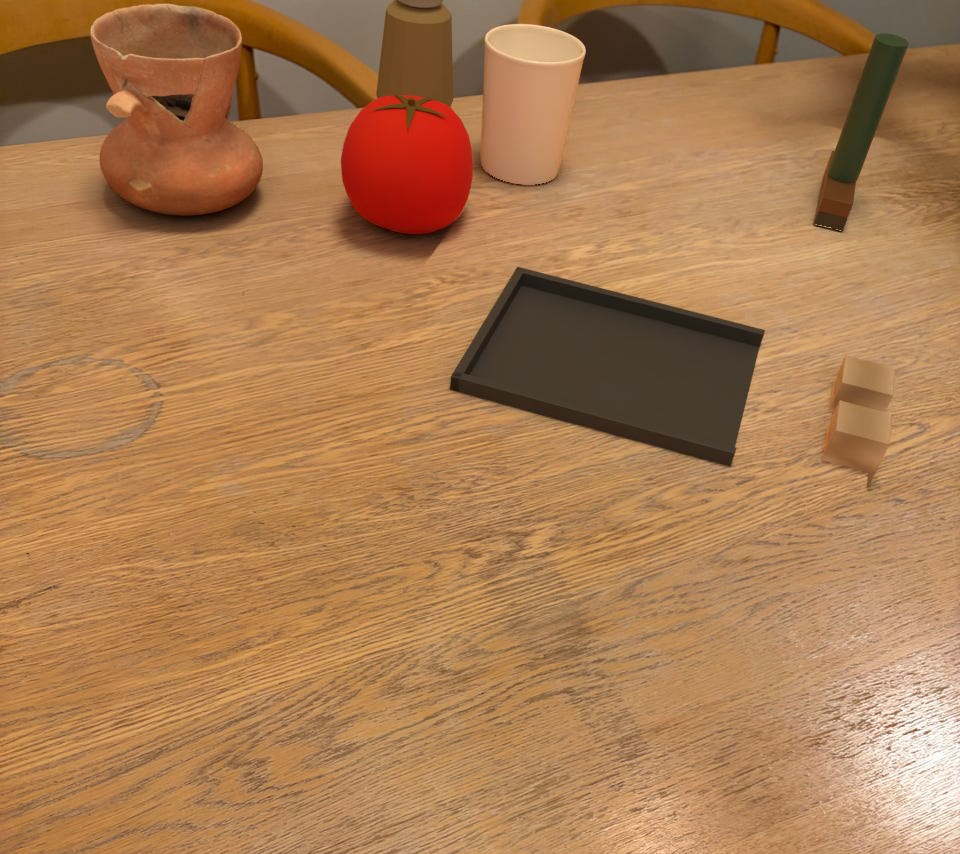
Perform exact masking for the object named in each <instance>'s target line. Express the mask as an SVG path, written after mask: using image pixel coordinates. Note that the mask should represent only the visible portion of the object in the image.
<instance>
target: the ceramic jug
mask: <svg viewBox="0 0 960 854" xmlns="http://www.w3.org/2000/svg"><path fill="white" fill-rule="evenodd" d="M89 33H90V40H91V44H92V48H93V51H94V54H95V56H96V59H97V62H98V65H99V66H100V69H101V71H102V73H103V75H104V77H105V80H106V81H107V84H108V86H109V88H110V90H111V92H112V93H113V95H111V96H110V98H109V99H108V100H107V101H106V105H105V108H106V110H107V111H108V112H109V113H110V114H111V115H113V116H114V117H115V118H125V119H124V120H123V121H122V122H120V123H119V124H117V125H116V126H115V127H114V128H113V129H112V130H110V131H109V133H108V134H107V135H106V137H105V138H104V140H103V142H102V144H101V146H100V147H101V148H100V151H99V166H100V170H101V174H102V175H103V177H104V179H105V181H106V183H107V184H108V186H109V187H110V188H111V189H112V190H113V191H114V193H116V194H117V195H118V196H119V197H120V198H121V199H123V200H124V201H127V202H128V203H130V204H131V205H134V206H136V207H137V208H141V209H143V210H146V211H150V212H153V213H157V214H161V215H169V216H183V217H184V216H186V217H187V216H200V215H201V216H202V215H208V214H213V213H217V212H221V211H224V210H227V209H228V208H231V207H234V206H235V205H237V204H239V203H241V202H242V201H244V200H245V199H246V198H248V197H249V196H250V195H251V194H252V193H253V192H254V191H255V190H256V188H257V187H258V185H259V183H260V182H261V179H262V175H263V169H264V160H263V157H262V153H261V150H260V148H259V147H258V145H257V143H256V142H255V140H254V139H253V138H252V137H251V136H250V135H249V134H248V133H247V132H246V131H244V130H243V129H242V128H240V127H239V126H237V125H236V124H235V123H233V122H231V121H230V120H229V117H230V114H231V113H230V112H231V109H232V99H233V93H234V89H235V85H236V82H237V79H238V78H237V77H238V75H239V71H240V64H241V57H242V50H243V48H242V47H243V37H242V32H241V29H240V28H239V26H237V25H236V24H235V22H233V20H231V19H229V18H228V17H226V16H224V15H222V14H217V13H216V12H214V11H212V10H209V9H207V8H204V7H199V6H194V5H189V6H188V5H187V6H186V5H177V4H173V3H155V4H150V3H146V4H139V5H132V6H129V7H120V8H116V9H115V10H112V11H108V12H106V13H104V14H102V15H101V16H100V17H97V18H96V19H95V20H94V21H93V23H92V25H91V26H90V29H89Z"/></svg>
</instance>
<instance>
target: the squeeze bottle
mask: <svg viewBox="0 0 960 854" xmlns="http://www.w3.org/2000/svg"><path fill="white" fill-rule="evenodd" d="M443 1H444V0H392V1H391V2H390V3H389V4H387V7H386V8H385V16H384V23H383V24H384V25H383V33H382V42H381V48H380V49H381V51H380V59H379V67H378V75H377V76H378V77H377V83H376V99H377V98H380V97H383V96H390V95H394V94H392V93H391V92H393V93H396V94H398V95H410V96H418V97H424V98H428V97H433V96H437V97H435V98H432V100H435V101H438V102H441V103H444V104H446V105H448V106H449V107H450V108H452V105H453V102H454V72H453V71H454V70H453V69H454V67H453V23H452V22H453V21H452V18H453V17H452V13H451V12H450V10H449V9H448V7H446V5H445V4H443ZM389 91H391V92H389Z"/></svg>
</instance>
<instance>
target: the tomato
mask: <svg viewBox="0 0 960 854" xmlns="http://www.w3.org/2000/svg"><path fill="white" fill-rule="evenodd" d="M389 92H391V91H389ZM391 93H392V94H394V95H390V96H383V97H380V98H377V97H376V99H374V100H372V101H371V102H369V103H368V104H366V105H365V106H364V107H362V109H361V110H360V111H359V112H358V113H357V115H356V117H355V118H354V119H353V121H351V124H350V125H349V127H348V130H347V133H346V136H345V138H344V141H343V145H342V149H341V150H342V151H341V157H340V170H341V178H342V179H341V180H342V185H343V187H344V190H345V194H346V196H347V198H348V199H349V201H350V203H351V205H352V207H353V208H354V210H355V211H356V212H357V213H358V214H359V215H360V216H361V217H362V218H363V219H364V220H365V221H367V222H369V223H370V224H373V225H376V226H378V227H380V228H382V229H386V230H388V231H392V232H397V233H401V234H406V235H424V234H430V233H435V232H437V231H440V230H442V229H445V228H447V227H448V226H450V225H452V224H453V223H454V222H455V221H456V220H457V218H459V216H460V215H461V214H462V212H463V211H464V209H465V206H466V204H467V202H468V200H469V197H470V191H471V188H472V183H473V176H474V175H473V173H474V159H473V148H472V144H471V138H470V135H469V133H468V131H467V129H466V127H465V125H464V122H463V120H462V118H461V117H460V116H459V115H458V114H457V113H456V112H455V110H453V108H452V107H449V106H448V105H446V104H444V103H441V102H438V101H435V100H432V98H435V97H437V96H433V97H428V98H424V97H418V96H410V95H398V94H396V93H393V92H391Z"/></svg>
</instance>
